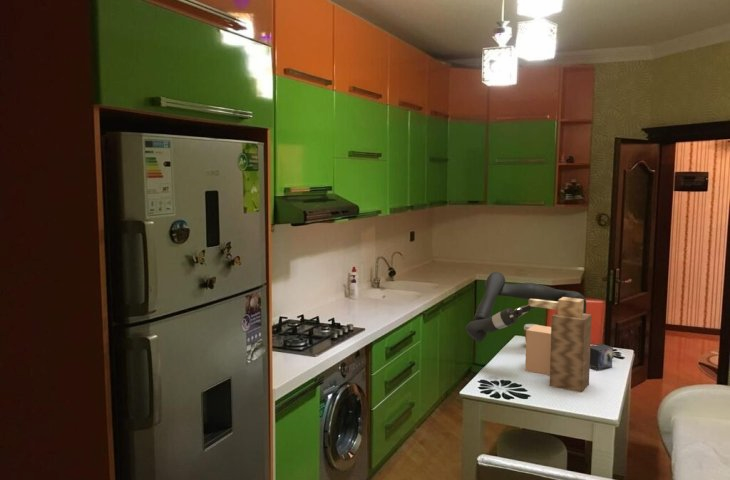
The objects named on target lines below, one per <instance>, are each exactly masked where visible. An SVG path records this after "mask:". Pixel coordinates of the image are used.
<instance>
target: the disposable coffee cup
mask: <svg viewBox="0 0 730 480" xmlns="http://www.w3.org/2000/svg"><path fill="white" fill-rule="evenodd" d="M533 325H538V324H535V323H526V324H524V326H523V330H524V339H525V341H526V330H527V329H529V328H530V327H532V326H533Z"/></svg>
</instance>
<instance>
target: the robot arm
mask: <svg viewBox="0 0 730 480" xmlns="http://www.w3.org/2000/svg"><path fill="white" fill-rule="evenodd" d="M483 287H484V290H485V292H484V295H483V296H482V298H481V300H480V303H479V304H478V307H477V309H476V312H475V314H474V317H473V319H474V320H473V321H470V322H469V323H467V325H466V326H465V331H466V333H467V334H468V335H469V336H470V337H471V339H473V340H474V341H475V342H477V343H479V342H482V341H484V340H485V338H487V335H488V333H494V332H497V331H498V330H501V329H505V328H507V327H509V326H512V325H514V324H516V323H517V321H518V318H520V317H522V316H523V315H525V314H527V313H528V312H529V311H532V310H533V309H534V308H536V307H532V306H530V305H529V306H528V304H526V305H522V306H520V307H517V308H515V309H512V308H510V307H508V308H506V309H504V310H501V311H499V312H497V313H495V314H494V315H492V316H491V314H492V311H493V309H494V305H495V302H496V300H497V299H498V296H501V297H509V298H510V297H511V298H516V299H519V300H520V299H521V300H525V301H529V299H540V300H548V301H557V302H558V300H559V299H560V298H562V297H568V298H577V299H584V308H583V313H584V314H587V299H586V297H585V296H584V295H583V294H581V293H580V292H578V291H574V290H564V289H558V288H557V289H556V288H554V287H550V286H547V285H543V284H538V283H533V282H522V283H516V284H510V283H506V278H505V276H504V275H503V274H502V273H501V272H498V271H493V272H492V273H490V274H489V275H488V276H487V278H486V281H485V282H484V285H483Z"/></svg>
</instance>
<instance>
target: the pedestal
mask: <svg viewBox="0 0 730 480" xmlns="http://www.w3.org/2000/svg"><path fill="white" fill-rule="evenodd" d="M550 353H551V326H547V325H546V326H545V325H540V324H537V325H533V326H532V327H530V328H529V329H527V330H526V340H525V360H524V361H525V364H524V365H525V366H524V367H525V368H524V370H525V371H526V372H529V373H530V372H531V373H536V374H542V375H546V376H550Z"/></svg>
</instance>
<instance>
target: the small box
mask: <svg viewBox="0 0 730 480" xmlns="http://www.w3.org/2000/svg"><path fill="white" fill-rule="evenodd" d="M613 354H614V347H612V346H610V345H608V344H607V345H606V344H604V343H603V344H596V345H590V369H592V370H594V371H597V372H598V371H603V370H608V369H612V368H613Z"/></svg>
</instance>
